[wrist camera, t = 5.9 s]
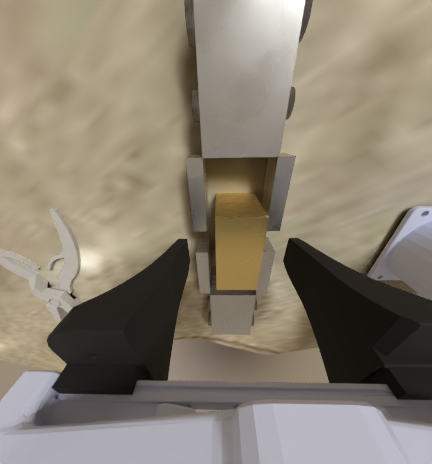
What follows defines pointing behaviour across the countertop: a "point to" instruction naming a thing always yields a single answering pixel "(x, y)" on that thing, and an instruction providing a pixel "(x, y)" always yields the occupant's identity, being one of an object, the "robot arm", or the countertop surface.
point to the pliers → (56, 295)
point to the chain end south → (244, 91)
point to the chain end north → (231, 293)
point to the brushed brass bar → (239, 240)
